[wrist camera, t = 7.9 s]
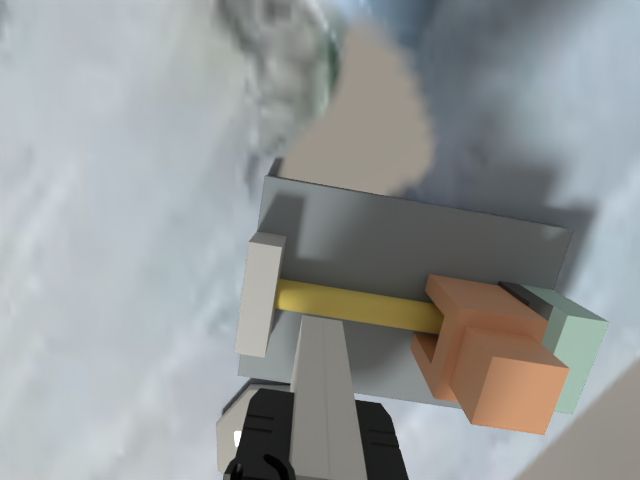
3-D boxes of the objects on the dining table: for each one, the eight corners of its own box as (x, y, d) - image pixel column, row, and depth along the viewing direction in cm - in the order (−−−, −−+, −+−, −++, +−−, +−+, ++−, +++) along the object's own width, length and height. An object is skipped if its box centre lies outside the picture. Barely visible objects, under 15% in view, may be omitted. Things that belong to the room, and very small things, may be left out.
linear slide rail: (267, 175, 20) (250, 181, 15) (561, 226, 20) (638, 249, 15) (240, 365, 22) (219, 424, 17) (500, 405, 23) (549, 471, 18)
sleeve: (429, 274, 20) (485, 335, 13) (498, 285, 20) (589, 351, 13) (409, 348, 21) (453, 439, 14) (476, 358, 21) (550, 453, 14)
